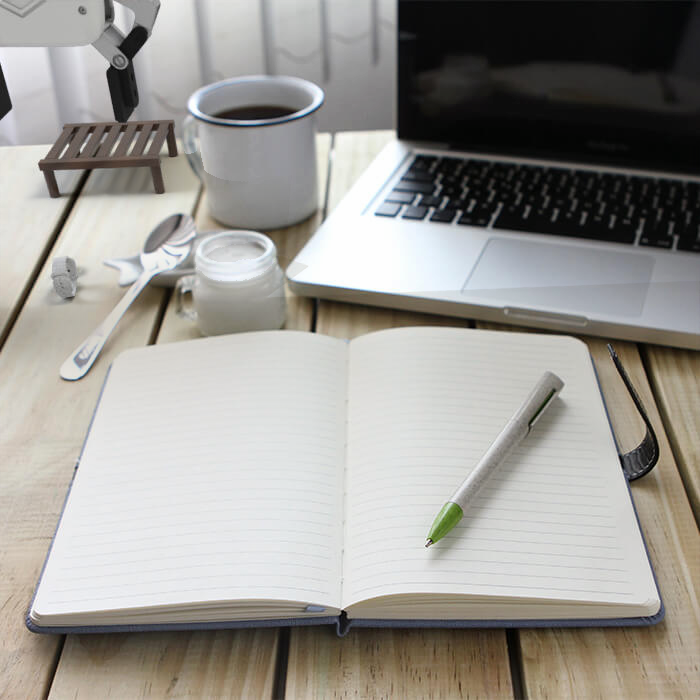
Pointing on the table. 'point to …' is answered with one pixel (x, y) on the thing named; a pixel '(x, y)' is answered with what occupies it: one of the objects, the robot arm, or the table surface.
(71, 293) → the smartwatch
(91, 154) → the rack
